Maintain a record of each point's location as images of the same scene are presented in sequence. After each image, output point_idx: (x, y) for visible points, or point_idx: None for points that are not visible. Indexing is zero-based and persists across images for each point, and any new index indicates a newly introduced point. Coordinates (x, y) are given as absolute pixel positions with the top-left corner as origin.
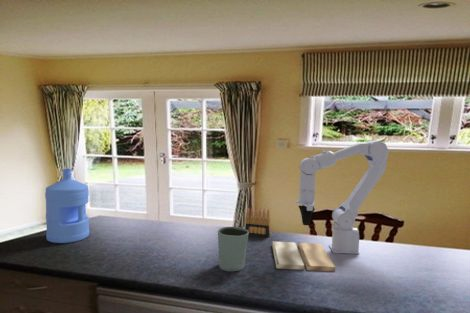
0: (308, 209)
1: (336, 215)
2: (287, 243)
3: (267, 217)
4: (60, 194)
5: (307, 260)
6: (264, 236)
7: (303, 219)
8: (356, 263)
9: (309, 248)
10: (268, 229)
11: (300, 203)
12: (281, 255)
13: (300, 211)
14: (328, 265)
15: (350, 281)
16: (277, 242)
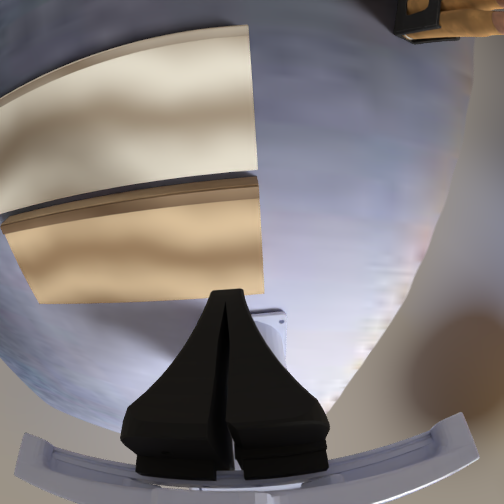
0: (29, 446)
1: (238, 465)
2: (227, 121)
3: (482, 13)
4: None
5: (30, 226)
6: (398, 11)
7: (199, 330)
8: (133, 353)
9: (176, 240)
10: (421, 25)
11: (135, 495)
12: (34, 112)
13: (276, 368)
14: (36, 288)
15: (18, 313)
16: (232, 57)
